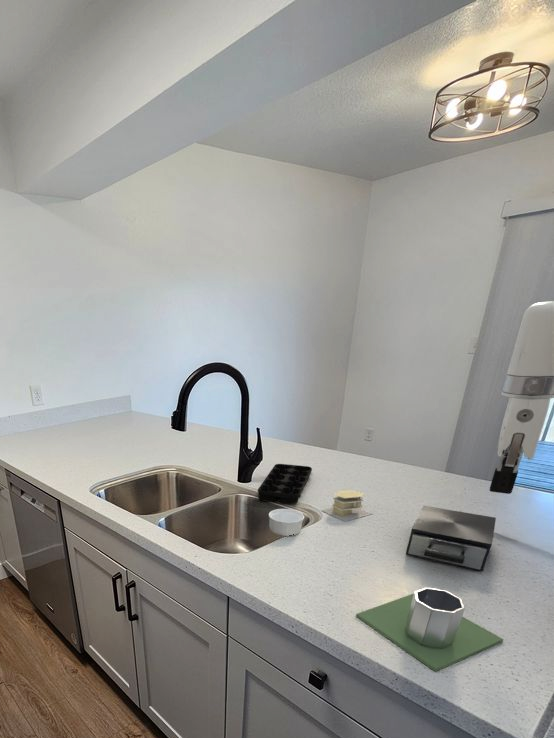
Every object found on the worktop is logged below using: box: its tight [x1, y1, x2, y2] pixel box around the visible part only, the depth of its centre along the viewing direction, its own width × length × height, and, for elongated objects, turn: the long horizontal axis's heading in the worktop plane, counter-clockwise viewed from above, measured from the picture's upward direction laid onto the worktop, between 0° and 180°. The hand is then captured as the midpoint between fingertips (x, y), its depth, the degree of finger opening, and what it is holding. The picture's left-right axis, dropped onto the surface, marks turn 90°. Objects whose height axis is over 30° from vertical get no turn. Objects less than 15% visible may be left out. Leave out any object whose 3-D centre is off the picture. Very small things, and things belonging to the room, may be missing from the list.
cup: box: [406, 587, 466, 648], centre depth 73 cm, size 7×7×8 cm
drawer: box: [408, 533, 487, 570], centre depth 97 cm, size 19×13×5 cm
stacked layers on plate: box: [320, 489, 373, 522], centre depth 122 cm, size 10×9×6 cm
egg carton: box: [257, 463, 313, 505], centre depth 141 cm, size 18×30×4 cm, turn 166°
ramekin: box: [268, 508, 305, 537], centre depth 114 cm, size 9×9×4 cm
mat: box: [355, 593, 504, 673], centre depth 77 cm, size 16×16×1 cm
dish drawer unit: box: [405, 505, 497, 573], centre depth 100 cm, size 16×15×7 cm
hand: (500, 491), depth 79 cm, fingers closed
